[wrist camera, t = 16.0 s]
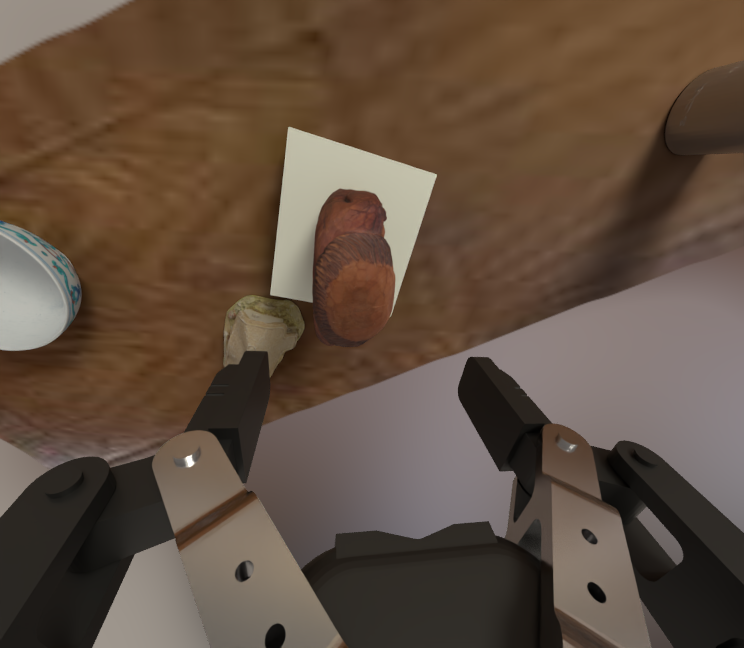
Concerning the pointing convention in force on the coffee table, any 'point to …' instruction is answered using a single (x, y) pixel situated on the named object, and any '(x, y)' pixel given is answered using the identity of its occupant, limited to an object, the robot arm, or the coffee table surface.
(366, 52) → the coffee table surface
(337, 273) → the wooden figurine
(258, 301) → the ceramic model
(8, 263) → the chinaware
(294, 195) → the cream white square block
